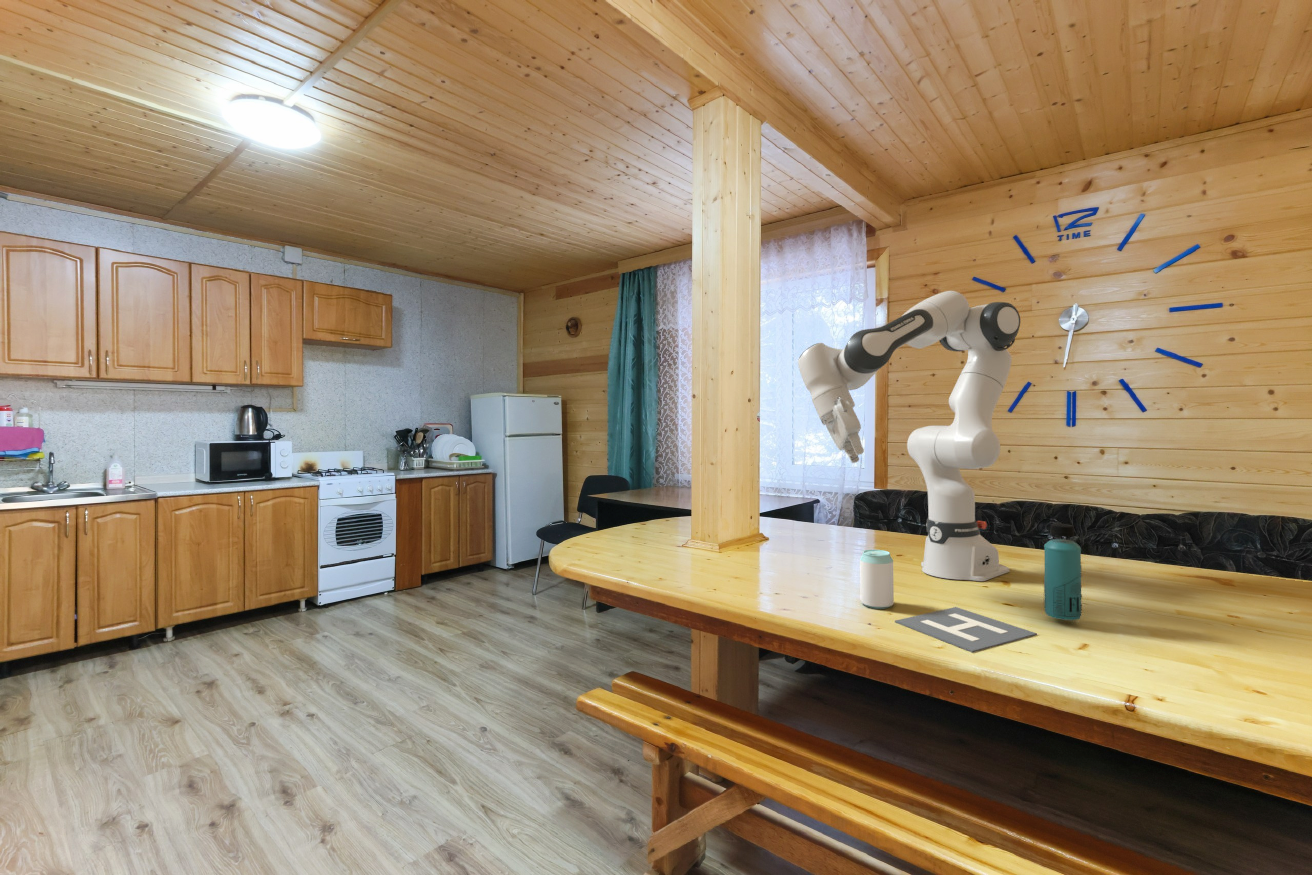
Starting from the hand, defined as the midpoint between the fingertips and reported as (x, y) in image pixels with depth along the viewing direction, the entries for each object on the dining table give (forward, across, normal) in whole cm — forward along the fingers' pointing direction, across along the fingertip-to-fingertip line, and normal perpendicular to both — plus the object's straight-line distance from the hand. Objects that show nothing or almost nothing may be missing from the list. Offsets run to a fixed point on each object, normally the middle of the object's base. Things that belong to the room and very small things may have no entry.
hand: (858, 458), depth 144 cm
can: (+32, +1, +9) cm, 34 cm away
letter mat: (+41, -11, -3) cm, 42 cm away
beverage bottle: (+46, -5, -23) cm, 52 cm away
